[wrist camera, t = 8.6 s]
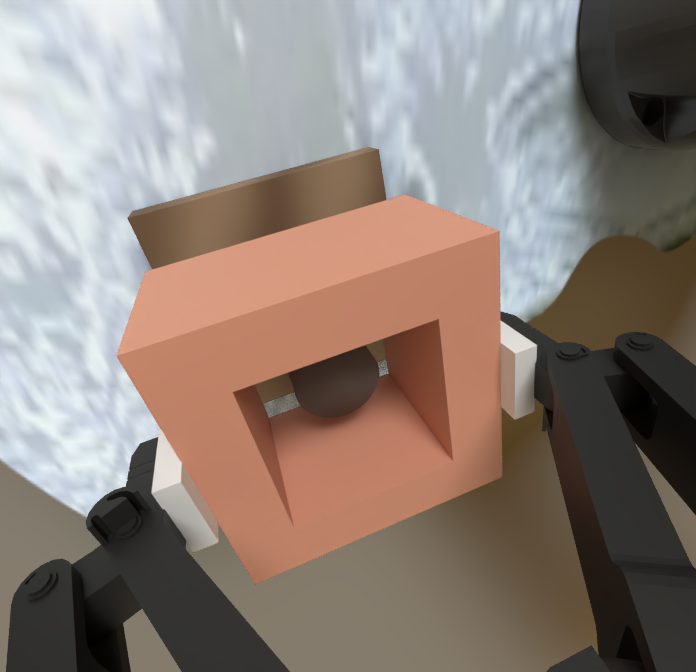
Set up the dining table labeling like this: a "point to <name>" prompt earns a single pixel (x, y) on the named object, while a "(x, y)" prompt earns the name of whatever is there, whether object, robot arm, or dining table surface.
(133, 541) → the robot arm
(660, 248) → the dining table surface
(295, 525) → the collar
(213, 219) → the post stand
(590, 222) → the dining table surface
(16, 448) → the dining table surface
